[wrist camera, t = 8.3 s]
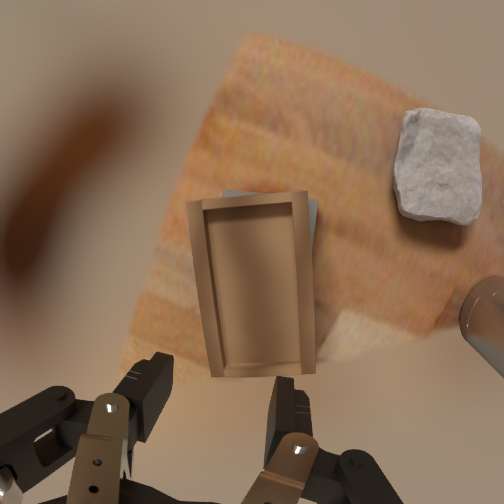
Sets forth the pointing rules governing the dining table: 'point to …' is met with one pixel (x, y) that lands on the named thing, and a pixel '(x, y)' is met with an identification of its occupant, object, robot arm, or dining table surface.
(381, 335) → the dining table surface
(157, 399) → the robot arm
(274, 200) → the tan open box
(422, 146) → the stone block
